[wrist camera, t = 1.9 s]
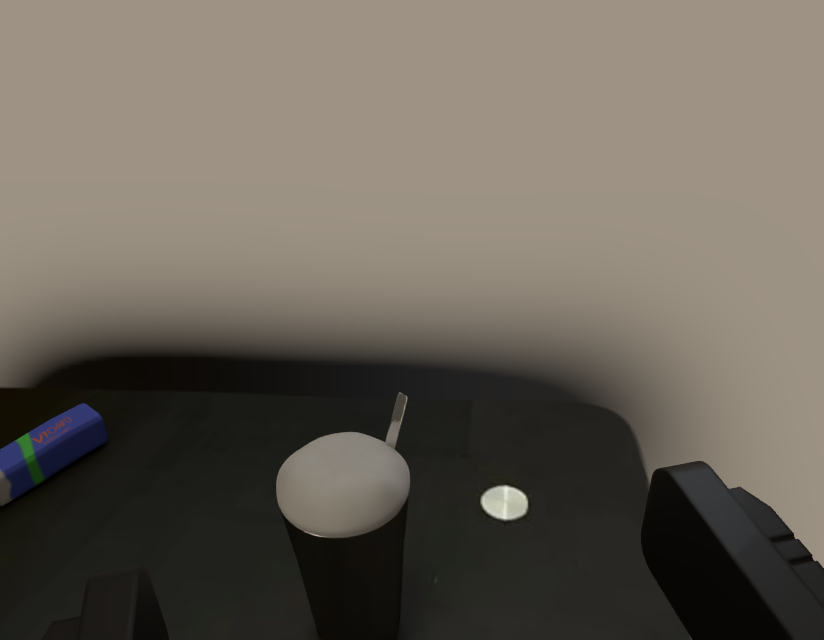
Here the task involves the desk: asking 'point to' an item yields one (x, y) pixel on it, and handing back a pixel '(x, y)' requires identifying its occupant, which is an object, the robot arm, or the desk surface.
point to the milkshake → (349, 529)
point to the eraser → (49, 450)
